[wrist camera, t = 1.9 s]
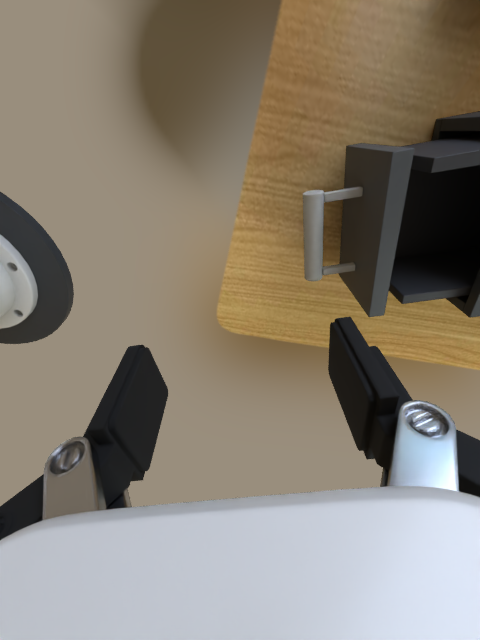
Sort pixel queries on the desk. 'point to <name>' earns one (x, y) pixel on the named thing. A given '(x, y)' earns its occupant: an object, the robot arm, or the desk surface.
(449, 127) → the dark grey cabinet
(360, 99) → the desk surface
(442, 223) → the drawer
